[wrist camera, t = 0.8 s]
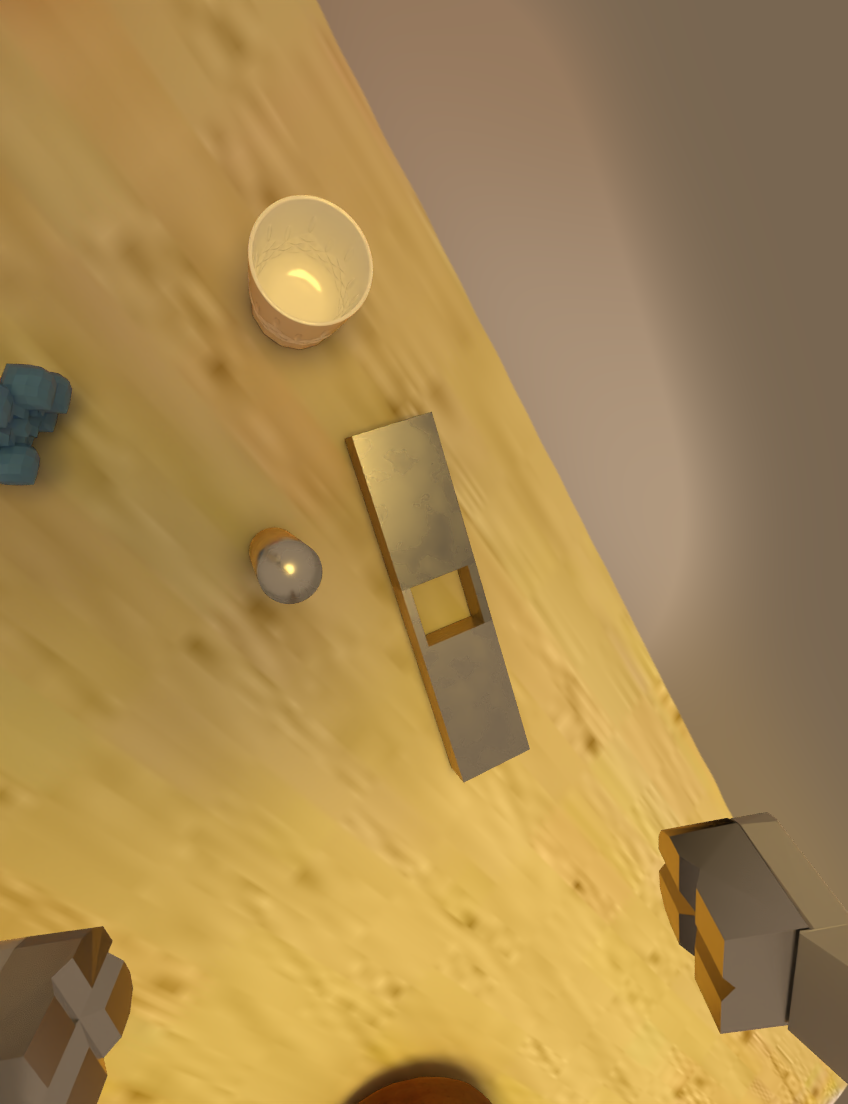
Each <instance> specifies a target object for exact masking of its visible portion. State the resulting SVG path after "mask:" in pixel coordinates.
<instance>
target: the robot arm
mask: <svg viewBox="0 0 848 1104" xmlns="http://www.w3.org/2000/svg"><path fill="white" fill-rule="evenodd" d="M659 851H660V853H661V855H662V857H663V859H664V861H665V864H664V865H663V867H662V868H661V869H660V870H659V879H660V890H661V894H662V899H663V903H664V907H665V911H666V913H667V916H668V919H669V922H670V924H671V927H672V929H673V931H674V934H675V936H676V938H677V940H678V943H679V945H681V946H682V947H683V948H685V949H686V950H687V951H688V952H690V953H691V954H692V955H694V956H695V980H696V982H697V985H698V987H699V989H700V991H701V993H702V995H703V997H704V1000H705V1002H706V1004H707V1006H708V1008H709V1010H710V1013H711V1015H712V1017H713V1019H714V1021H715V1023H716V1026H717V1028H718V1030H719V1032H720V1034H723V1033H730V1032H738V1031H746V1030H753V1029H761V1028H769V1027H776V1026H784V1025H788V1030H789V1031H790V1032H791V1033H792V1034H794V1035H795V1036H796V1037H797V1038H798V1039H799V1040H800V1041H801V1042H802V1043H803V1044H805V1045H806V1046H807V1047H808V1048H809V1049H810V1050H811V1051H812V1052H813V1053H814V1054H815V1055H817V1056H818V1057H819V1058H820V1059H821V1060H822V1061H823V1062H824V1063H825V1064H826V1065H827V1066H829V1067H830V1068H831V1069H832V1070H833V1071H834V1072H835V1073H836V1074H837V1075H838V1076H839V1077H841V1078H842V1079H843V1080H844V1081H845V1082H846V1083H847V1084H848V912H847V911H846V909H845V908H844V907H843V905H842V904H841V903H840V901H839V900H838V899H837V898H836V896H835V895H834V893H833V892H832V891H831V890H830V888H829V887H828V886H827V884H826V883H825V882H824V880H823V879H822V878H821V877H820V875H819V874H818V873H817V871H816V870H815V869H814V867H813V866H812V865H811V864H810V862H809V861H808V860H807V858H806V857H805V856H804V854H803V853H802V852H801V850H800V849H799V848H798V847H797V845H796V844H795V843H794V841H793V840H792V839H791V837H790V836H789V835H788V834H787V832H786V831H785V830H784V828H783V827H782V826H781V824H780V823H779V822H778V821H777V819H776V818H775V817H773V816H772V815H771V814H769V813H767V812H765V813H758V814H753V815H747V816H741V817H735V818H731V819H728V818H724V819H719V820H713V821H708V822H703V823H697V824H692V825H686V826H681V827H676V828H670V829H665V830H661V832H660V834H659ZM111 944H112V939H111V938H110V936H109V935H108V933H107V932H106V930H105V929H104V927H103V926H102V927H95V928H88V929H80V930H73V931H66V932H59V933H52V934H45V935H38V936H30V937H24V938H17V939H11V940H5V941H0V1104H97V1102H98V1099H99V1096H100V1094H101V1091H102V1088H103V1086H104V1083H105V1080H106V1078H107V1071H106V1066H105V1062H104V1057H105V1055H106V1054H107V1053H108V1052H109V1051H110V1050H111V1048H112V1047H113V1046H114V1045H115V1044H116V1043H117V1042H118V1040H119V1039H120V1038H121V1037H122V1034H123V1031H124V1028H125V1026H126V1023H127V1020H128V1017H129V1014H130V1008H131V1000H132V992H133V986H132V980H131V974H130V971H129V969H128V967H127V965H126V964H125V962H124V961H123V960H121V959H119V958H118V957H116V956H114V955H112V954H110V953H108V951H109V949H110V946H111Z"/></svg>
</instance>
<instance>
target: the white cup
mask: <svg viewBox="0 0 848 1104" xmlns="http://www.w3.org/2000/svg"><path fill="white" fill-rule="evenodd" d="M372 278H373V261H372V255H371V251H370V248H369V245H368V242H367V240H366V238H365V236H364V234H363V232H362V230H361V229H360V227H359V226H358V224H357V223H356V222H355V221H354V220H353V218H352V217H351V216H350V215H349V214H347V213H346V212H345V211H344V210H343V209H341V208H340V207H338V206H337V205H335V204H334V203H332V202H330V201H327V200H325V199H322V198H319V197H315V196H310V195H294V196H289V197H285V198H283V199H280V200H278V201H276V202H274V203H273V204H271V205H270V206H269V207H267V208H266V209H265V210H264V211H263V212H262V213H261V215H260V216H259V217H258V219H257V220H256V222H255V224H254V226H253V228H252V231H251V234H250V238H249V244H248V282H249V295H250V300H251V305H252V313H253V316H254V318H255V320H256V321H257V323H258V325H259V326H260V328H261V330H262V331H263V333H264V334H265V335H267V336H268V337H269V338H271V339H272V340H274V341H275V342H276V343H278V344H279V345H281V346H285V347H290V348H295V349H304V348H307V347H311V346H315V345H318V344H319V343H320V342H321V341H322V340H323V339H325V338H327V337H329V336H330V335H331V334H333V333H334V332H335V331H336V330H338V328H340V327H341V326H342V325H343V324H344V323H345V322H346V321H347V320H348V319H349V318H350V317H351V316H352V315H353V314H354V313H355V312H356V311H357V310H358V309H359V308H360V307H361V305H362V304H363V303H364V301H365V299H366V297H367V295H368V293H369V290H370V287H371V283H372Z"/></svg>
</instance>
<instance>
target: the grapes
mask: <svg viewBox="0 0 848 1104" xmlns="http://www.w3.org/2000/svg"><path fill="white" fill-rule="evenodd" d="M71 394H72V387H71V385H70V382H69V381H68V380H67V379H66V378H65V377H63V376H62V375H60V374H58V373H54V372H49V371H47V370H45V369H44V368H42V367H39V366H33V365H26V364H6V366H5V369H4V372H3V374H2V377H1V380H0V484H5V485H34V482H35V480H36V477H37V473H38V469H39V463H40V457H39V455H38V453H37V451H36V450H35V448H34V447H32V446H31V445H32V443H33V440H34V437H35V438H37V436H38V432H53V431H54V428H55V425H56V422H57V417H58V414H66V413H67V410H68V407H69V405H70V400H71Z"/></svg>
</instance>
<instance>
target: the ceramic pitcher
mask: <svg viewBox="0 0 848 1104" xmlns="http://www.w3.org/2000/svg"><path fill="white" fill-rule="evenodd" d="M358 1104H491V1102H490V1101H489V1100H488V1099H487V1098H486V1097H485V1096H484V1095H483V1094H482V1093H481V1092H479V1091H478V1090H477V1089H475V1088H474V1087H473V1086H471V1085H470V1084H469V1083H466V1082H463V1081H460V1080H456V1079H452V1078H444V1077H419V1078H414V1079H409V1080H405V1081H401V1082H397V1083H393V1084H390V1085H388V1086H386V1087H384V1088H382V1089H379V1090H377V1091H376V1092H374V1093H373V1094H371V1095H369V1096H368V1097H366V1098H365V1099H363V1100H362V1101H360V1102H359V1103H358Z"/></svg>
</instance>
